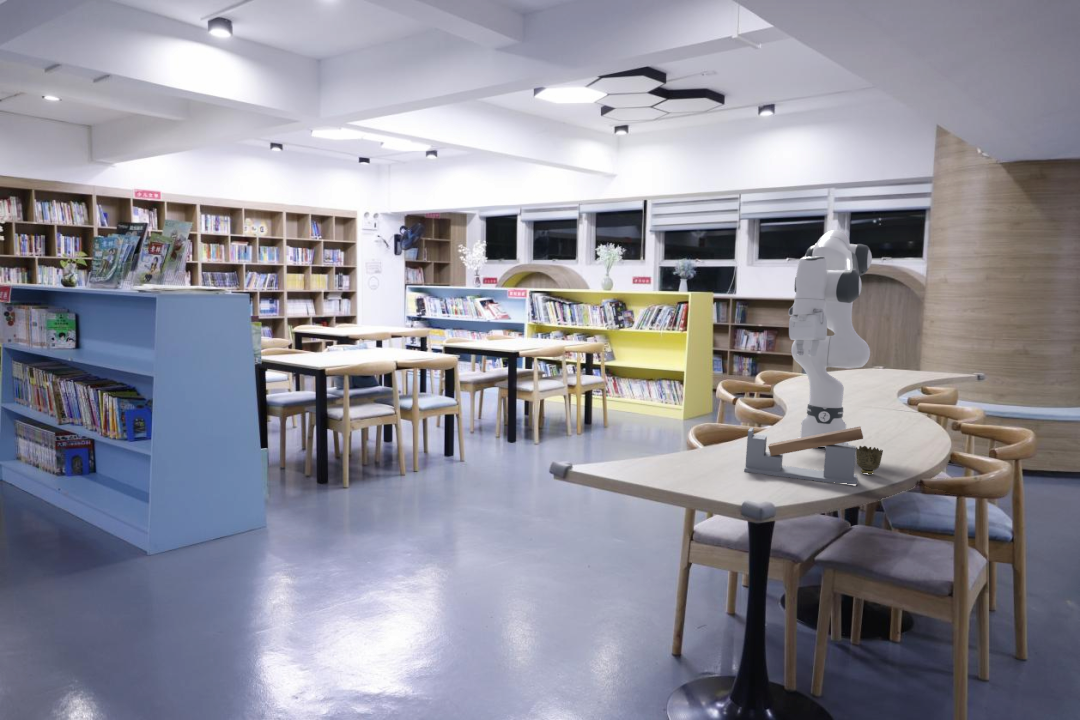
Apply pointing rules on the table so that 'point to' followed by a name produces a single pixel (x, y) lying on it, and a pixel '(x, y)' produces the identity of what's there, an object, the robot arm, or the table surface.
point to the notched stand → (835, 468)
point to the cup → (868, 459)
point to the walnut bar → (816, 441)
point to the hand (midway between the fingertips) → (805, 355)
